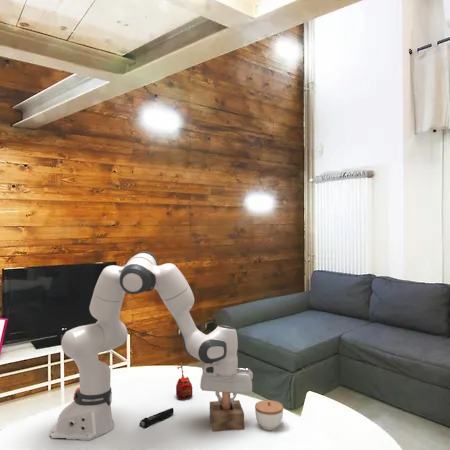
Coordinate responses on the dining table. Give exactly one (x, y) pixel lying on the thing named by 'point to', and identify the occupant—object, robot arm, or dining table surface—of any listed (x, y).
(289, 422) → the dining table surface
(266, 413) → the lidded jar
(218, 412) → the socket block
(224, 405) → the peg
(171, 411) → the electric trimmer
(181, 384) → the red clay folk toy
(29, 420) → the dining table surface
